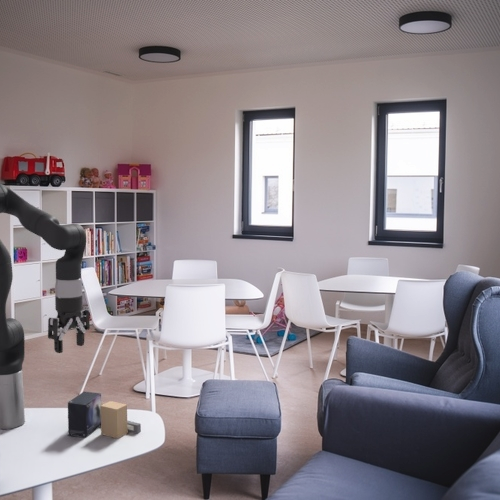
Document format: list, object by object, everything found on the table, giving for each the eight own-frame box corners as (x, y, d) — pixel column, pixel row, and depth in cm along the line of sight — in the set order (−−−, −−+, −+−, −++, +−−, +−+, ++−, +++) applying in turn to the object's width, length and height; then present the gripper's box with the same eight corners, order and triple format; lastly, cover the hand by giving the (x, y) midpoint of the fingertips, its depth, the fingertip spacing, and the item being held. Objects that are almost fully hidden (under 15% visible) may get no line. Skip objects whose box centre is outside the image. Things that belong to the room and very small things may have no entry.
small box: (87, 438, 197) (86, 404, 196) (67, 436, 199) (66, 402, 197) (103, 424, 207) (102, 392, 206) (84, 422, 209) (83, 390, 207)
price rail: (83, 419, 211) (83, 412, 211) (86, 418, 212) (86, 410, 212) (137, 433, 200) (137, 425, 200) (140, 431, 202) (140, 423, 201)
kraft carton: (117, 438, 197) (116, 409, 196) (101, 434, 200) (100, 405, 199) (127, 433, 201) (127, 404, 200) (111, 428, 204) (110, 400, 203)
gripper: (76, 288, 197) (77, 341, 199) (40, 296, 184) (41, 352, 187) (95, 291, 193) (96, 345, 195) (60, 299, 181) (61, 357, 183)
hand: (69, 348), depth 191 cm, fingers open, 8 cm apart
